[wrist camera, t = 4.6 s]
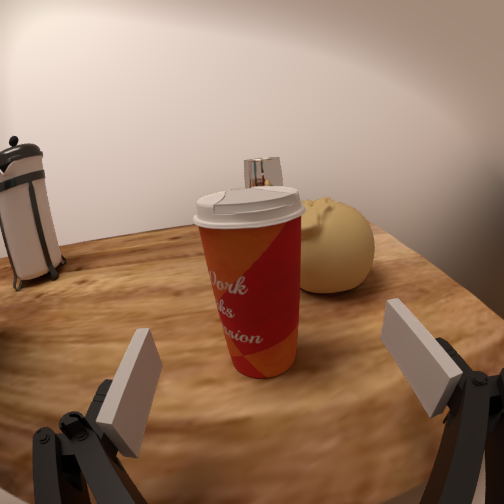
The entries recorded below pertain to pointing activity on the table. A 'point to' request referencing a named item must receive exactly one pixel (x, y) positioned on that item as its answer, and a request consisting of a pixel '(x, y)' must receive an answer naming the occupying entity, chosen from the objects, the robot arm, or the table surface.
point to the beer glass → (262, 172)
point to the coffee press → (27, 214)
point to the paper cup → (255, 273)
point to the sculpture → (334, 247)
